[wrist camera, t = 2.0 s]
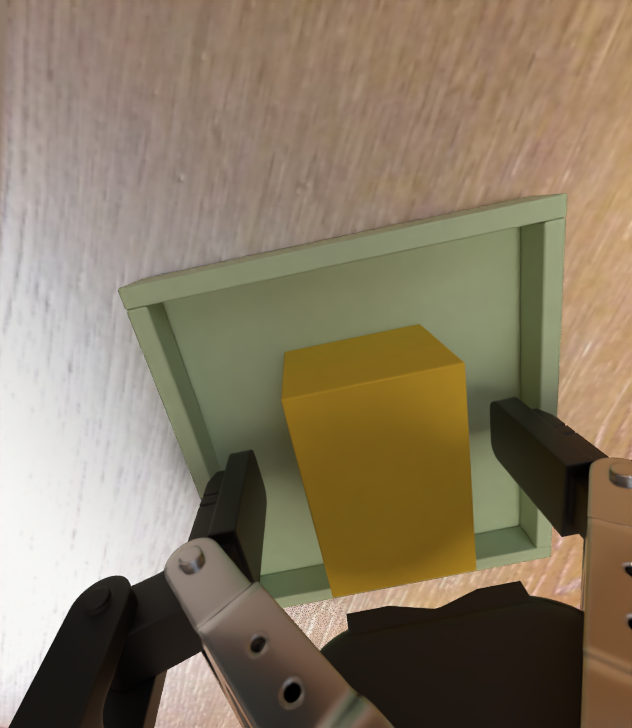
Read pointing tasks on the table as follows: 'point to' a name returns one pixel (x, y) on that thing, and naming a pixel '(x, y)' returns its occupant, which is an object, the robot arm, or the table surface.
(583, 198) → the table surface
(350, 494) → the sponge
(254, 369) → the tray
